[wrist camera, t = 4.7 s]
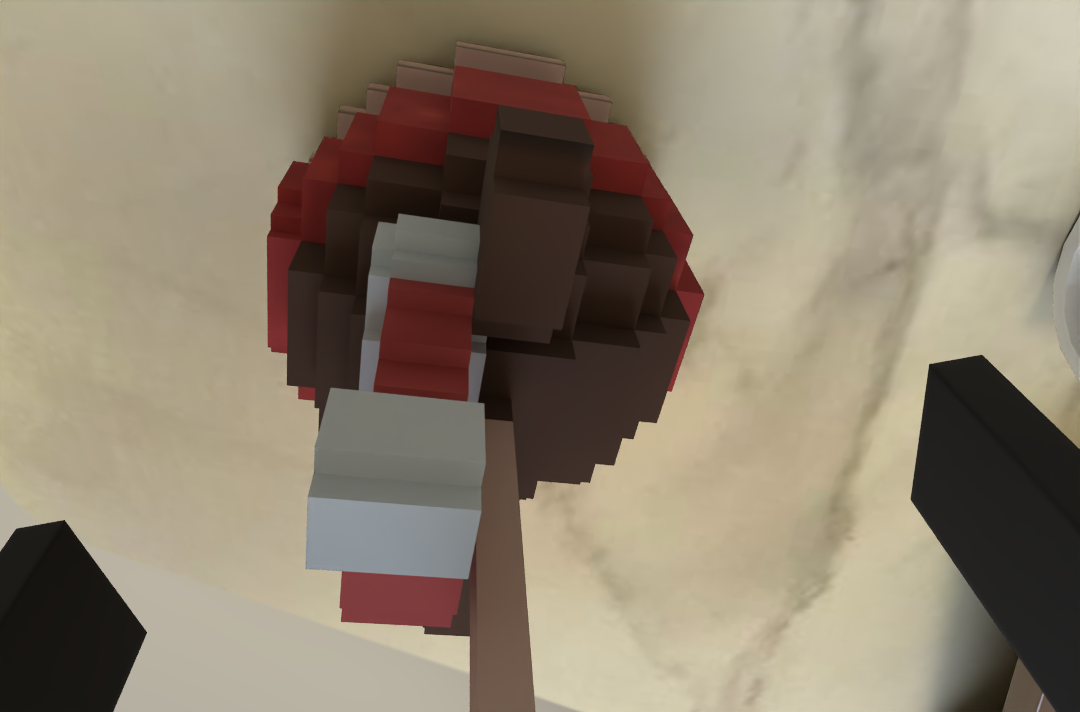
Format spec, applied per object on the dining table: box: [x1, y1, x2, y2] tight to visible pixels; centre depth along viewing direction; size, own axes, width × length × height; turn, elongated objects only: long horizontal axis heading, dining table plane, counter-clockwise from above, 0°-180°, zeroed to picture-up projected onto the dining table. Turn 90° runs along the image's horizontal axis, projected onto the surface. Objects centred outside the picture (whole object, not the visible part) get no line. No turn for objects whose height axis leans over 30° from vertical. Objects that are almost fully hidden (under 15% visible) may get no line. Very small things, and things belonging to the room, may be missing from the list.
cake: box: [267, 41, 704, 712], centre depth 14 cm, size 11×9×18 cm
